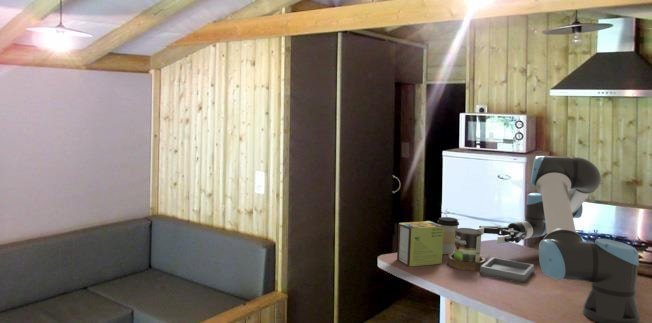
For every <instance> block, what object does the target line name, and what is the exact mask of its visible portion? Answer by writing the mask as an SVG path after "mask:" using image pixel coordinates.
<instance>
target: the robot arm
mask: <svg viewBox="0 0 652 323" xmlns="http://www.w3.org/2000/svg"><path fill="white" fill-rule="evenodd" d="M532 163H533V164H532V170H531V176H530V177H531V178H530V186H531V187H534V188H536V191H537V192H531V193H528V194H527V196H526V206H525V218H524V221H523V220H522V221H517V222H510V223H509V224H508V225H507V226H504V227H503V226H501V225H479V227H478V228H475V229H476V230H479V231H481V232H482V234H481V236H483V235H485V234H488V235H489V234H490V235H497V240H496V241H497V244H500V245H501V244H504V243H510V242H511V243H515V244H518V243H520V242H521V241H524V240H526V239H532V238H540V237H543V236H544V237H543V239H541V240H540V242H539V245H538V261H539V267H540V269H541V272H542V274H544V276H546V277H547V278H551V279H556V280H566V281H576V282H587V283H591V287H590V291H589V292H588V295H587V297H586V299H585V300H584V303H583V305H582V314H583V315H584V317H587V318H588V319H590V320H592V321H595V322H597V323H640V321H641V315H640V311H639V310H640V309H639V306H638V303H637V298H636V292H637V281H638V280H637V278H638V270H639V266H640V262H639V251H638V250H637V248H635V247H634V246H632V245H629V244H627V243H624V242H621V241H617V240H612V239H609V238H608V239H607V238H596V239H595V241H594V243H589V242H584V240H583V237H582V235H581V234H579V233H578V232H577V231H576V226H575V221H574V219H576V218H577V219H579V218H581V217H582V214H583V203H584V202H585V201H586V199H587V198H588V196H589V195H590V194H592V193H594V192H595V191H597V189H598V188H599V187H600V184H601V182H602V180H601V179H602V175H601V173H600V171H599V169H598V167H597V166H596V165H595V164H594V163H593V162H592V161H590V160H588V159H586V158H583V157H574V156H573V157H572V156H557V155H538V156H535V157H534V159H533V162H532Z"/></svg>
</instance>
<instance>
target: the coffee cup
mask: <svg viewBox="0 0 652 323" xmlns="http://www.w3.org/2000/svg"><path fill="white" fill-rule="evenodd" d="M458 220H459V219H457V218H455V217H449V216H442V217H439V218H438V220H437V221H436V224H439V225H441V226H444V231H443V249H442V255H446V254H448V255H450V254H452V253H454V248H455V229H457V228H459V225H460V222H459V221H458Z"/></svg>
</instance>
